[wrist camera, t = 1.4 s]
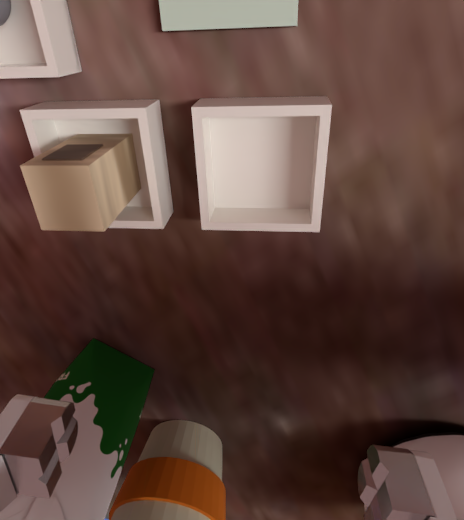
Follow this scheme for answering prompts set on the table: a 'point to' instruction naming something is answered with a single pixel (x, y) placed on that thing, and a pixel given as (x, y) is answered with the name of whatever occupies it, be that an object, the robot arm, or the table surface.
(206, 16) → the pad
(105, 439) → the milk carton
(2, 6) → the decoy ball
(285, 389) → the table surface
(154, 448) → the reusable coffee cup
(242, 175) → the white open square tray
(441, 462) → the milk container
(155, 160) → the white square cubby
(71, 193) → the tan tall block
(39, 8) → the white square open box
